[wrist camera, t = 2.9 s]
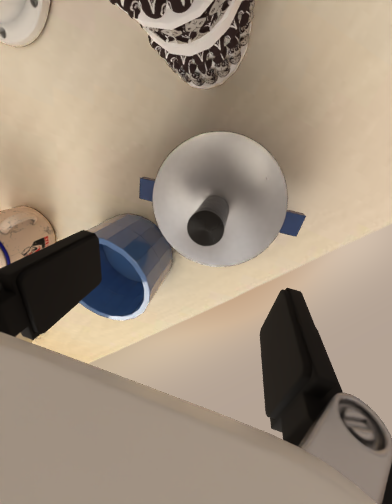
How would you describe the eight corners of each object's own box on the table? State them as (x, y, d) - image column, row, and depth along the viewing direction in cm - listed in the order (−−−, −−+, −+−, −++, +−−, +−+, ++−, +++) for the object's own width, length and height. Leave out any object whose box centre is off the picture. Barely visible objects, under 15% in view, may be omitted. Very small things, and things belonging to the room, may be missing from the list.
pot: (98, 205, 30) (47, 223, 23) (177, 225, 29) (152, 252, 21) (103, 272, 37) (65, 304, 29) (168, 291, 35) (147, 330, 28)
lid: (162, 119, 19) (121, 103, 12) (311, 148, 17) (349, 146, 11) (152, 246, 26) (123, 276, 19) (258, 274, 24) (263, 317, 18)
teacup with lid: (44, 258, 39) (-27, 296, 29) (6, 222, 36) (-86, 248, 26) (74, 227, 33) (0, 260, 23) (32, 183, 31) (-70, 198, 21)
